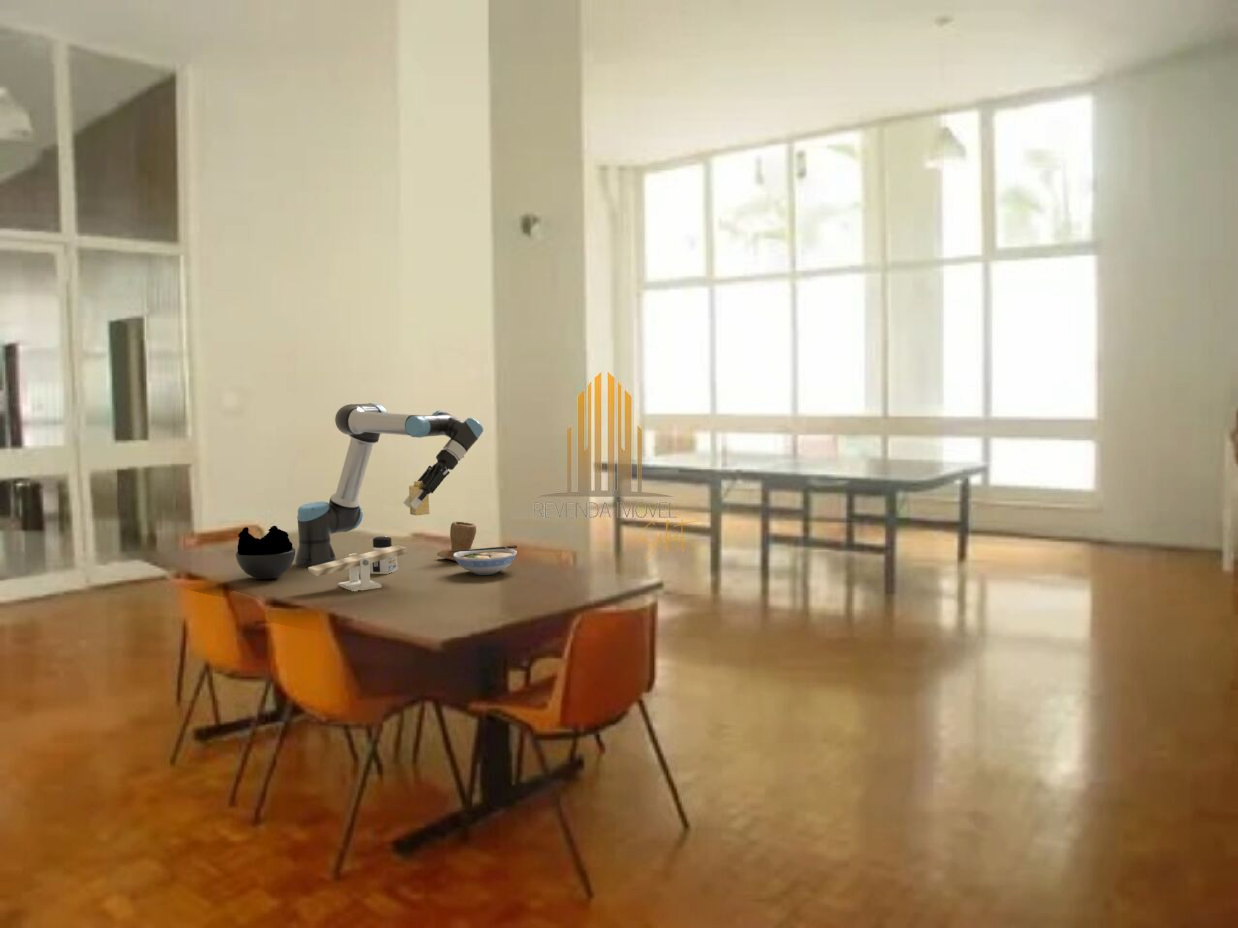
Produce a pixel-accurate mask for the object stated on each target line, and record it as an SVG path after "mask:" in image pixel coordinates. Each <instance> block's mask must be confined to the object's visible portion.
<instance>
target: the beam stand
mask: <svg viewBox="0 0 1238 928" xmlns="http://www.w3.org/2000/svg"><path fill="white" fill-rule="evenodd" d="M356 555H359V553H350V554H347V556H348V557H352V556H356ZM348 557H347V558H348ZM348 577H349V578H348V581H342V582H338V586H339V587H341V588H343V589H346V590H349V591H350V590H351V591H350V592H353V591H354V592H358V590H361V591H365V590H366V591H367V590H373V589H380V588H382V584H381V583H379V582H377V581H373V580H371V574H370V562H369V557H365V558H360V566H357V567H353V568H349V569H348Z"/></svg>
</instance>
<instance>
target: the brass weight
mask: <svg viewBox="0 0 1238 928" xmlns="http://www.w3.org/2000/svg"><path fill="white" fill-rule="evenodd" d="M425 486H426V485H423V481H418V480H416V481H413V485H409V486H408V494H409V495H408V496H409V499H410V503H411V502H412V500H413V499H414V498H415V497H416V496H417V494H418V493H419V492H420V491H421V490H423V489H422V487H425ZM423 491H424V490H423ZM429 495H430V494H427V496H426V497H425V499H424V500H423V501H422V502H421V504H420V505H419V506H418V507H417V508H416V509H415V508H413V507H412V506H411V505H410V507H409V514H410V515H412V516H424V515H430V501H429Z"/></svg>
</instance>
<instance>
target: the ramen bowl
mask: <svg viewBox="0 0 1238 928" xmlns="http://www.w3.org/2000/svg"><path fill="white" fill-rule="evenodd" d="M515 549H518V546H517V545H515V544H514V545H506V546H505V545H503V546H495V547H493V546H492V547H483V548H471V549H469V550H460V551H449V552H456V553H454V555H453V556H454V558H455V560H456V563H457V564H458V565H459V566H460V567H461V568H462V569H464V570H465V571H468V572H470V573H474V575H475V574H476V575H478V576H479V575H480V576H490V575H495V574H497V573H498V572H501V571H503V570H504V569H506V568H508V567H509V566H510V565H511V564H512V563H513V561H514V559H515V558H516V555H517V552H518V551H517V550H515ZM455 560H454V561H455Z"/></svg>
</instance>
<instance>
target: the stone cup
mask: <svg viewBox="0 0 1238 928" xmlns="http://www.w3.org/2000/svg"><path fill="white" fill-rule="evenodd" d="M449 533H450V534H449V536H450V537H449V538H450V545H451V548H450V549H444V550H440V551H438V552H436V555H437V556H438V557H440V558H443V559H447V560H451V561H456V560H455V558H454V556H453V555H454V553H456V552H449V551H460V550H469V549H472V545H473V543H474V540H475V538H476V533H477V526H476V524H474V523H472V522H471V523H469V522H464V521H456V520H455V521H453V522H452V523H451V524H450V531H449ZM456 562H457V561H456Z"/></svg>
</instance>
